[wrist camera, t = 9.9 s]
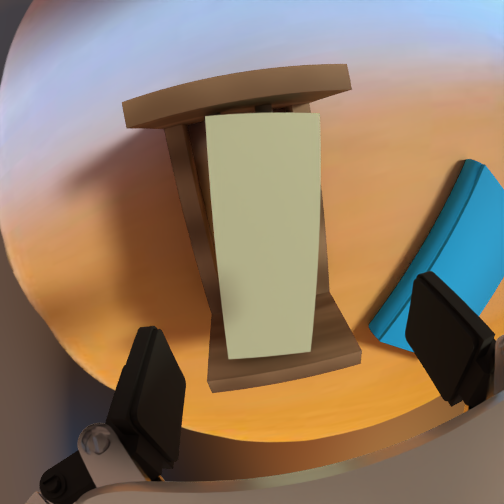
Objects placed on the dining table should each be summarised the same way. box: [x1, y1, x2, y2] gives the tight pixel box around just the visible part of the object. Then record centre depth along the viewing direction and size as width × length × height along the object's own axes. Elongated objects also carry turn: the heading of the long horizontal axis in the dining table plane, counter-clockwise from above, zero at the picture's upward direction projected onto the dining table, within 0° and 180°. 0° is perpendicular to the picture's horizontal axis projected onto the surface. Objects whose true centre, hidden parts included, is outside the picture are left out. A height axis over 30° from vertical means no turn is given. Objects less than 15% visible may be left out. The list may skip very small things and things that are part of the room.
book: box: [369, 159, 504, 352], centre depth 31 cm, size 17×4×25 cm
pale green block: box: [205, 113, 321, 359], centre depth 19 cm, size 16×6×5 cm, turn 3°
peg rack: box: [122, 64, 362, 393], centre depth 22 cm, size 21×12×12 cm, turn 10°
